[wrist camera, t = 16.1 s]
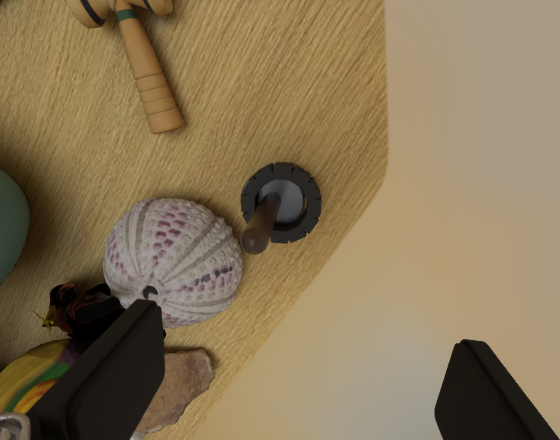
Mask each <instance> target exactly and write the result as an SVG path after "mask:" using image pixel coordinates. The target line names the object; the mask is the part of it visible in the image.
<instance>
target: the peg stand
mask: <svg viewBox="0 0 560 440" xmlns="http://www.w3.org/2000/svg"><path fill="white" fill-rule="evenodd" d="M249 180H250V179H249ZM249 180H248V181H247V182H246V184H245V185H244V187H243V189H242V193H241V196H242V194H243V193H244V192H243V190H244V188H245V186H246V185H247V183H248V182H249ZM303 203H304V196H303V191H302V189H301V188H300V187H298V186H297V185H295V184H294V183H292V182H291V181H289V180H273V181H271V182H269V183H267V184H265V185H263V186H262V188H261V189H260V191H259V193H258V207H257V209H256V211H255V212H254V214H253V216H252V217H251V219H250V221H249V223H248V224H247V226H246V228H245V229H244V231H243V233H242V235H241V238H240V243H241V246H242V248H243V250H244V251H245V252H247V253H249V254H253V255H256V254H260V253H262V252H263V251H264V250H265V249H266V247H267V245H268V242H269V239H270V236H271V233H272V230H273V227H274V224H275V223H281V224H289V223H291V222H293V221H295V220H297V219H298V218H299V216H300V215H301V212H302V209H303ZM243 213H245V212H243Z"/></svg>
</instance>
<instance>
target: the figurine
mask: <svg viewBox="0 0 560 440" xmlns="http://www.w3.org/2000/svg"><path fill="white" fill-rule="evenodd" d="M91 344H92V343H91V342H90V341H88V340H83V341H80V340H79V339H75V338H72V339H64V340H55V341H51V342H47V343H44V344H41V345H39V346H37V347H34V348H32V349H31V350H29V351H28V352H26V353H25V354H23V355H22V356H21V357H19V358H18V359H16V360H15V361H13V362H12V363H10V364H9V365H8V366H7V367H6V368H5V369H4V370H3V371H2V372H1V373H0V413H4V412H20V413H24V414H25V413H26V412H27V411H28V410H29V409H30V408H31V407H32V406H33V405H34V404H35V403H36V402H37V401H38V400H39V399H40V398H41V397H42V396H43V395H44V394H45V392H46V391H47V390H48V389H49V388H50V387H51V386H52V385H53V384H54V383H55V382H56V381H57V380H58V379H59V378H60V377H61V376H62V375H63V374H64V373H65V372H66V371H67V370H68V369H69V368H70V367H71V365H72V364H73V363H74V362H75V361H76V360H77V359H78V358H79V357H80V356H81V355H82V354H83V353H84V352H85V351H86V350H87V349H88V348H89V347H90V346H91Z"/></svg>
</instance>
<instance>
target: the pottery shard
mask: <svg viewBox="0 0 560 440" xmlns="http://www.w3.org/2000/svg"><path fill="white" fill-rule="evenodd" d="M164 356H165V376H164V379H163V381H162V383H161V385H160V387H159V389H158V391H157V392H156V394H155V396H154V398H153V399H152V401H151V403H150V405H149V407H148V408H147V410H146V412H145V414H144V415H143V417H142V419H141V421H140V423H139V424H138V426H137V428H136V430H135V431H136V432H140V433H141V434H143V433H144V434H148V433H154V432H156V431H160V430H161V429H162V428H163V427H165V426H168V425H172V424H175V423H177V421H178V420H179V417H180V416H182V415H183V413H184V410H185V408H186V406H188V405H189V404H190V403H191V401H192V400H193V399H195V398H196V397H197V396H199V395H200V394H202V393H204V392H205V391H206V390H207V389H208V388H209V385H210V383H211V381H212V380H213V379H214V378H215V372H214V370H213V366H212V362H211V360H210V358H209V357H208V355H207V354H206V353H205V350H203V349H198V350H193V351H178V352H175V353H168V354H166V353H164ZM135 431H134V432H135Z"/></svg>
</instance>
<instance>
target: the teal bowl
mask: <svg viewBox="0 0 560 440" xmlns="http://www.w3.org/2000/svg"><path fill="white" fill-rule="evenodd" d="M29 223H30V210H29V206H28V202H27V199H26V197H25V195H24V193H23V191H22V190H21V188H20V187H19V186H18V184H17V183H16V182H15V181H14V180H13V179H12V178H11V177H10V176H9V175H8V174H7V173H6V172H4V171H3V170H1V169H0V284H1V283H2V282H3V280H4V279H5V278H6V277H7V275H8V274H9V273H10V271H11V270H12V268H13V267H14V265H15V263H16V262H17V260H18V258H19V256H20V254H21V251H22V249H23V246H24V243H25V241H26V237H27V233H28V229H29Z"/></svg>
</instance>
